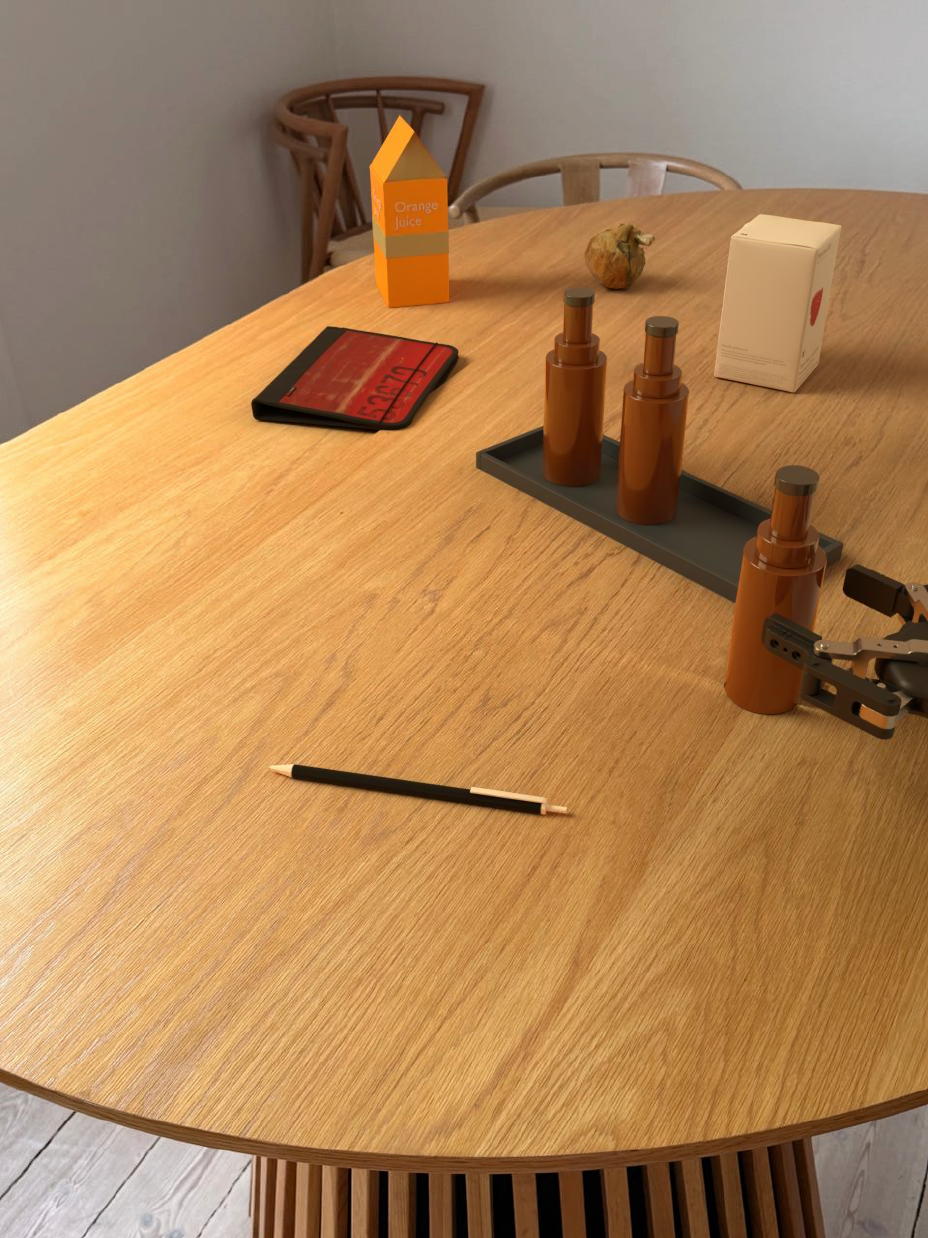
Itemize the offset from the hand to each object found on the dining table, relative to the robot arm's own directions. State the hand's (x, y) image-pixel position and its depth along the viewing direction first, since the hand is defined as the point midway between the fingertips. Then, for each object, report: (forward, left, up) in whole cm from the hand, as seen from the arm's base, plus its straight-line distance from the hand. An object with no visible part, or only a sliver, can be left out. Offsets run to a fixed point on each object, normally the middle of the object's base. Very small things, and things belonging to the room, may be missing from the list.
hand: (808, 601), depth 77 cm
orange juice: (+64, -59, -9) cm, 87 cm away
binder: (+54, -32, -9) cm, 63 cm away
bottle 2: (+18, -20, -8) cm, 28 cm away
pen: (+18, +19, -9) cm, 28 cm away
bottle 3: (+2, -1, -8) cm, 9 cm away
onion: (+43, -73, -9) cm, 85 cm away
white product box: (+18, -55, -9) cm, 58 cm away
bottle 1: (+27, -23, -8) cm, 36 cm away
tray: (+18, -20, -8) cm, 28 cm away
